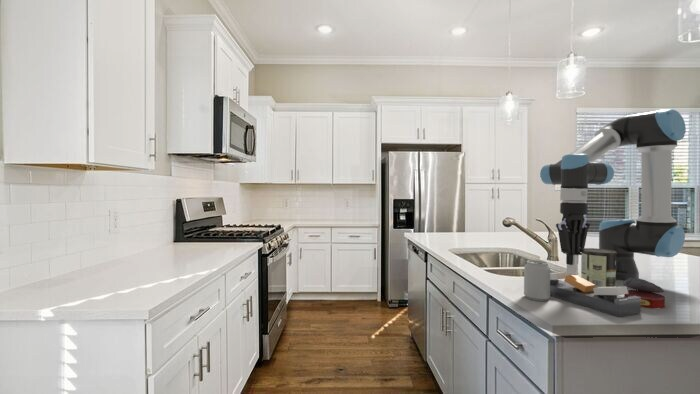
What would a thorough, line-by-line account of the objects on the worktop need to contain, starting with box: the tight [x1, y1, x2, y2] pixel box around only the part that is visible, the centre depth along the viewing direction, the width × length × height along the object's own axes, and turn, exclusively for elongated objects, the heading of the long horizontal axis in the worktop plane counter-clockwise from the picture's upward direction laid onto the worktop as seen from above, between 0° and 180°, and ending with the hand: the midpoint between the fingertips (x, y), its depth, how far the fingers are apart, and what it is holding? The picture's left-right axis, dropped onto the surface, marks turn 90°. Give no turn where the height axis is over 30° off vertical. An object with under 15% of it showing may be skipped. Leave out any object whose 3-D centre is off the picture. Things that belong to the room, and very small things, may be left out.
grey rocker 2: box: [593, 286, 629, 296], centre depth 107 cm, size 7×4×2 cm, turn 22°
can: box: [523, 259, 551, 302], centre depth 117 cm, size 8×8×12 cm
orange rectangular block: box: [563, 274, 596, 292], centre depth 116 cm, size 7×4×2 cm, turn 22°
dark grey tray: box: [550, 279, 642, 318], centre depth 116 cm, size 30×9×5 cm, turn 22°
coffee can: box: [580, 247, 617, 288], centre depth 127 cm, size 10×10×14 cm
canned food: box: [623, 277, 666, 309], centre depth 113 cm, size 11×10×10 cm
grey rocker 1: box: [550, 271, 568, 280], centre depth 124 cm, size 7×4×2 cm, turn 22°
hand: (572, 274), depth 118 cm, fingers closed
